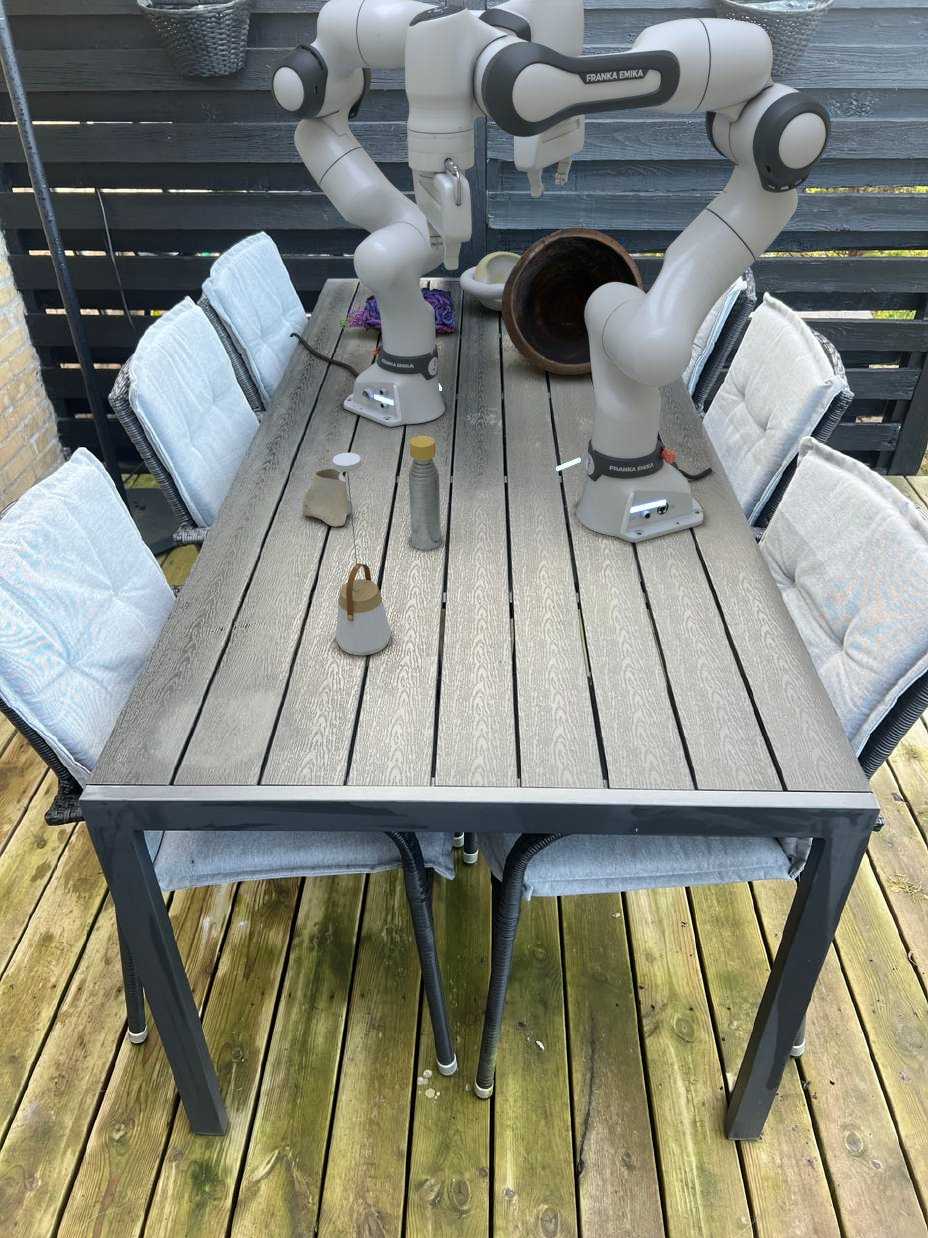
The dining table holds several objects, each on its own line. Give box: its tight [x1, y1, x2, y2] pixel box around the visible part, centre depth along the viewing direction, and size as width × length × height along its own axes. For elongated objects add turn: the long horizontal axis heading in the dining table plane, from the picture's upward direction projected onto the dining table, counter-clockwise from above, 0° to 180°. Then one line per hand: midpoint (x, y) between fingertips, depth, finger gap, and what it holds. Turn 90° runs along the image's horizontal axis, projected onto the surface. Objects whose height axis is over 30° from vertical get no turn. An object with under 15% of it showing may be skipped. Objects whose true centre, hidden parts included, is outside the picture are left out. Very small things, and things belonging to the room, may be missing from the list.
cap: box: [409, 435, 436, 460], centre depth 150 cm, size 4×4×2 cm
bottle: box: [408, 458, 442, 551], centre depth 155 cm, size 5×5×19 cm
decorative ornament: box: [338, 287, 457, 334], centre depth 237 cm, size 13×11×30 cm
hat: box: [459, 251, 522, 312], centre depth 248 cm, size 25×22×15 cm
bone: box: [301, 468, 353, 528], centre depth 164 cm, size 9×8×10 cm
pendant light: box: [332, 452, 392, 656], centre depth 130 cm, size 8×8×30 cm
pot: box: [501, 227, 644, 376], centre depth 220 cm, size 32×32×30 cm
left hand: (549, 189), depth 161 cm, fingers open, 8 cm apart
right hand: (443, 258), depth 132 cm, fingers open, 8 cm apart
